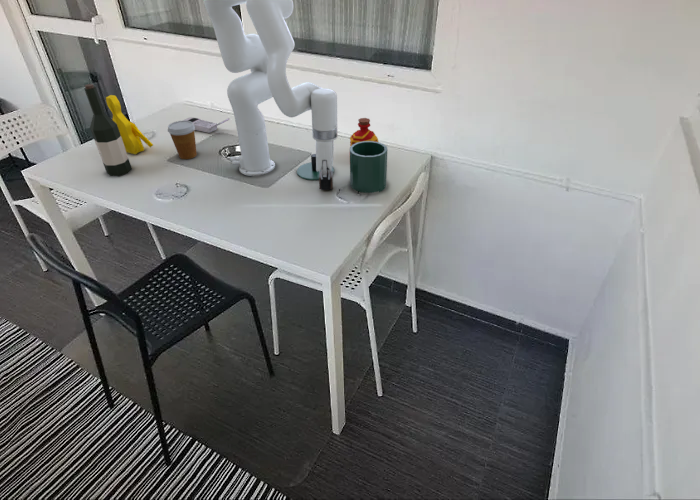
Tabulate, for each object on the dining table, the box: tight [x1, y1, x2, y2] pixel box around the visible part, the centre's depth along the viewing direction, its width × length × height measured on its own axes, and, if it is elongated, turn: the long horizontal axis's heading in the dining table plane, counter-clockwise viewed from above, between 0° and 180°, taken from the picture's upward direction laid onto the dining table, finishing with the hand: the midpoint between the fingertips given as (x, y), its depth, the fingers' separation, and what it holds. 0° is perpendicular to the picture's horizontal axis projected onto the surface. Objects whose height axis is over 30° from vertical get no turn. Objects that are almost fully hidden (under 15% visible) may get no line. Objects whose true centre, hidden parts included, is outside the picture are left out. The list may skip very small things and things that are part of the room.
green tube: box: [349, 141, 388, 194], centre depth 146 cm, size 12×12×13 cm
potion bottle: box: [349, 117, 379, 147], centre depth 160 cm, size 10×10×15 cm
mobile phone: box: [182, 117, 230, 134], centre depth 188 cm, size 6×6×25 cm
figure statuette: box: [105, 94, 154, 155], centre depth 167 cm, size 18×8×22 cm, turn 66°
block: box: [318, 171, 334, 190], centre depth 146 cm, size 4×4×4 cm
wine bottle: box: [83, 83, 133, 177], centre depth 152 cm, size 8×8×30 cm
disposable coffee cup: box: [167, 120, 198, 160], centre depth 166 cm, size 10×10×12 cm
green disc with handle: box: [296, 153, 335, 181], centre depth 155 cm, size 13×13×7 cm
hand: (326, 184), depth 147 cm, fingers closed on block, 4 cm apart
